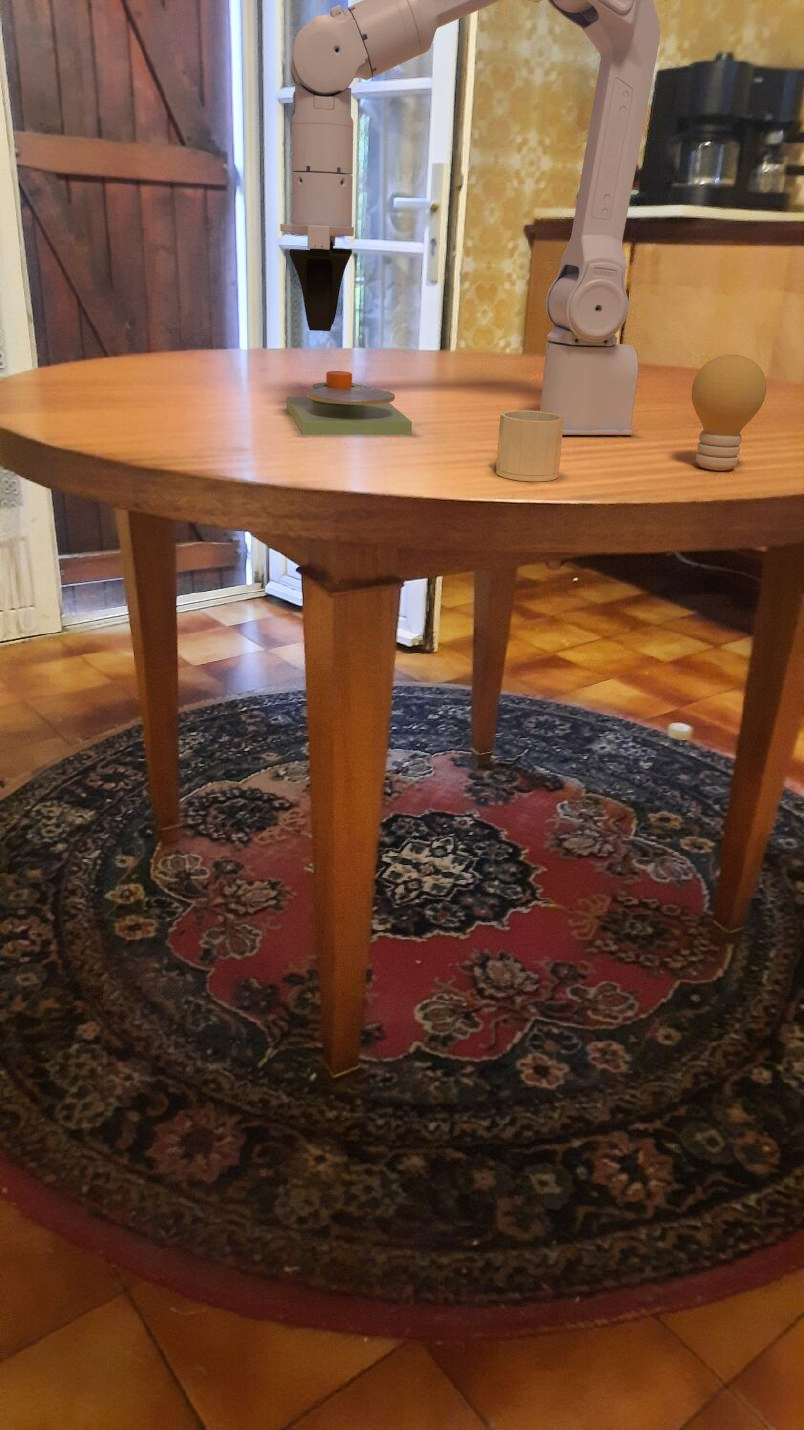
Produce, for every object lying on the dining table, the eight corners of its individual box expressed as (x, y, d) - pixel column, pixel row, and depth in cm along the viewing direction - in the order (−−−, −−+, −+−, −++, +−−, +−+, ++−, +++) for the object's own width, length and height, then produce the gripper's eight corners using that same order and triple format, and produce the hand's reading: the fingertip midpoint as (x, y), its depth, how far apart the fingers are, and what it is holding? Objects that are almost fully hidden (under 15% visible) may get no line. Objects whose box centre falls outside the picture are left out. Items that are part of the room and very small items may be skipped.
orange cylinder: (324, 387, 113) (324, 370, 112) (349, 387, 113) (349, 371, 112) (328, 391, 110) (328, 374, 109) (353, 391, 111) (354, 374, 110)
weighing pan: (385, 391, 109) (385, 387, 109) (402, 405, 101) (403, 401, 101) (302, 390, 107) (301, 386, 107) (312, 404, 100) (313, 400, 99)
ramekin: (546, 467, 92) (551, 410, 90) (566, 481, 87) (573, 421, 85) (488, 468, 91) (493, 410, 88) (506, 482, 86) (511, 421, 84)
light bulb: (740, 479, 90) (762, 361, 86) (670, 468, 93) (688, 354, 89) (758, 467, 95) (780, 355, 91) (691, 458, 98) (709, 348, 94)
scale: (286, 409, 114) (286, 381, 113) (382, 410, 116) (383, 382, 115) (302, 435, 101) (302, 404, 99) (411, 435, 103) (412, 405, 102)
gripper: (286, 175, 103) (287, 319, 109) (273, 168, 90) (275, 332, 96) (356, 178, 103) (353, 321, 109) (353, 172, 90) (350, 335, 96)
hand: (321, 327), depth 102 cm, fingers open, 7 cm apart
